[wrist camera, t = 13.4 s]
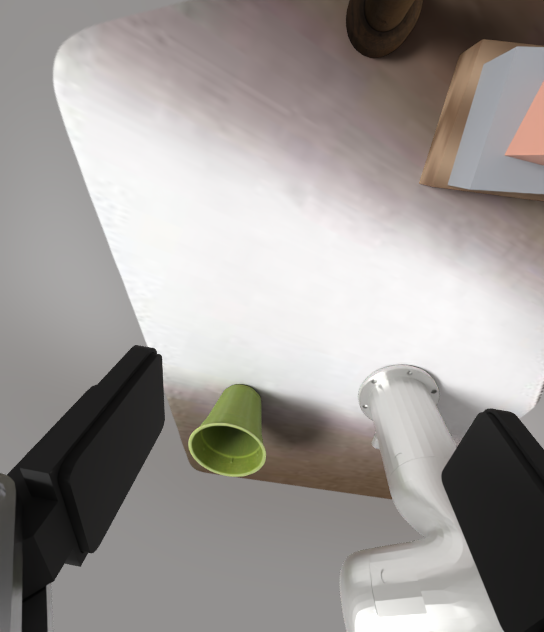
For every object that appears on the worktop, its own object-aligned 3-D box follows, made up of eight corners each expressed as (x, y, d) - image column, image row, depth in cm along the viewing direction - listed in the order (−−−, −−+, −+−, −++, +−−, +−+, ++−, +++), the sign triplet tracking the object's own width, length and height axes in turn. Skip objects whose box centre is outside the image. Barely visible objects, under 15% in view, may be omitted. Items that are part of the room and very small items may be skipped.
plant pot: (199, 380, 54) (174, 429, 44) (261, 367, 51) (249, 417, 42) (224, 426, 59) (207, 481, 49) (282, 417, 56) (276, 473, 46)
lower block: (519, 196, 36) (548, 202, 32) (418, 183, 37) (432, 186, 32) (579, 69, 30) (625, 54, 26) (458, 55, 31) (482, 39, 26)
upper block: (547, 191, 31) (587, 196, 27) (447, 184, 32) (469, 189, 28) (602, 68, 27) (660, 51, 22) (483, 64, 27) (517, 46, 23)
